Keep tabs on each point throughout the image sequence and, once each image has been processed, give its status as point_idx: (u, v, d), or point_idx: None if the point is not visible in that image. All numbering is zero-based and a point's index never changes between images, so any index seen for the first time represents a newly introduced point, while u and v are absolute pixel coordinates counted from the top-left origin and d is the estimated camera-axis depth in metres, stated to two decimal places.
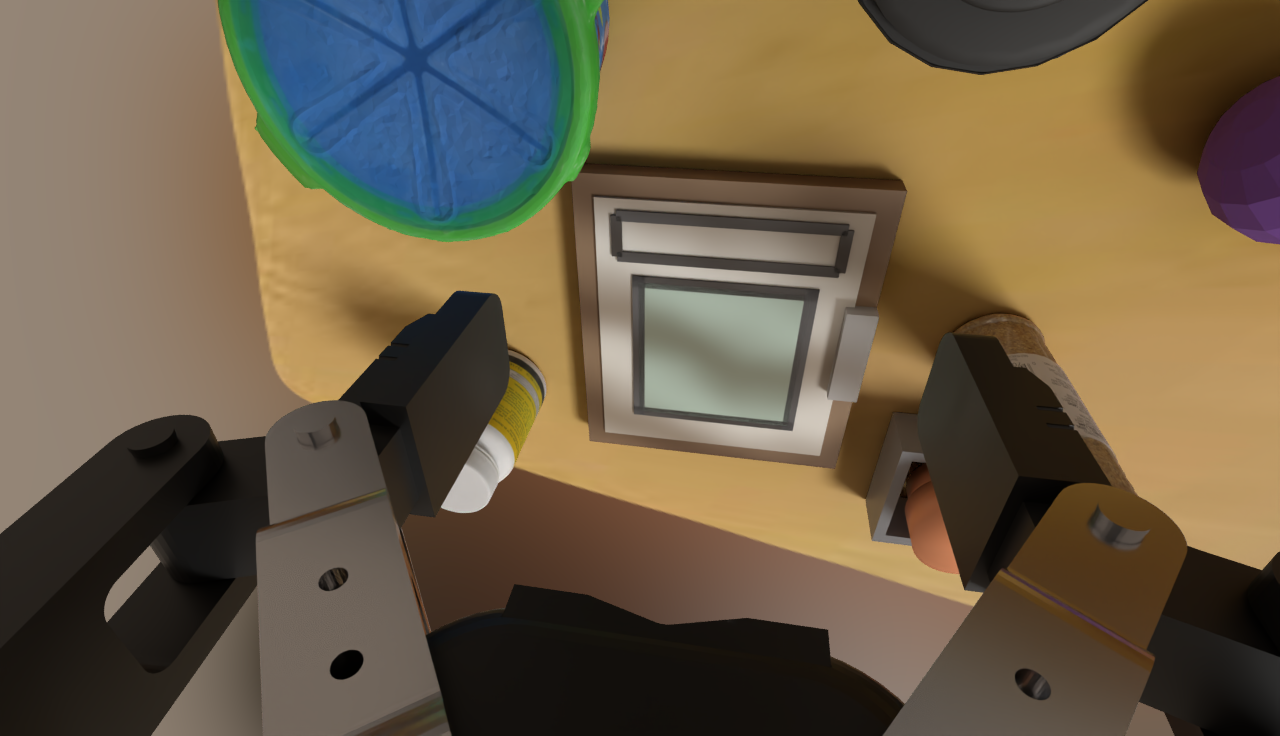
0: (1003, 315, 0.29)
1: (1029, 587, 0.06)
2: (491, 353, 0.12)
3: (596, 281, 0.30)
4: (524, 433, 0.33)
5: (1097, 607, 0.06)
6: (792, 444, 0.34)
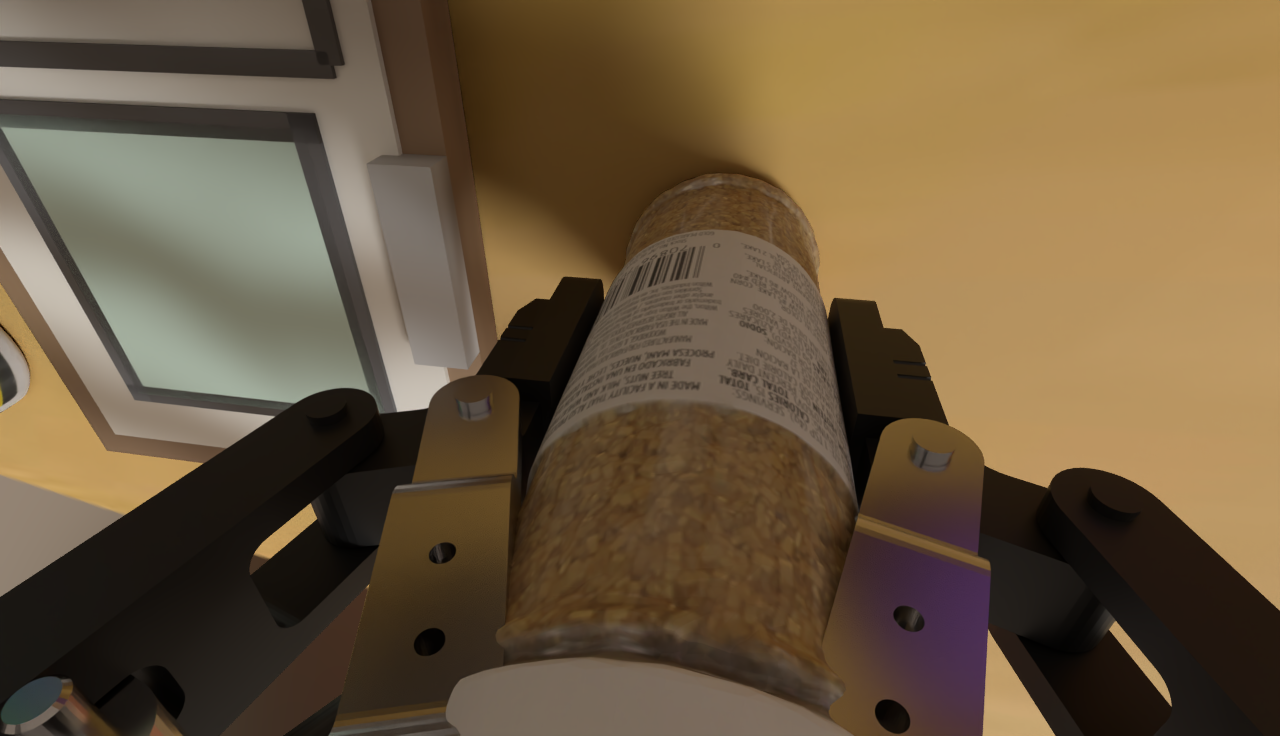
0: (718, 175, 0.14)
1: (883, 529, 0.06)
2: None
3: None
4: None
5: (933, 528, 0.07)
6: None
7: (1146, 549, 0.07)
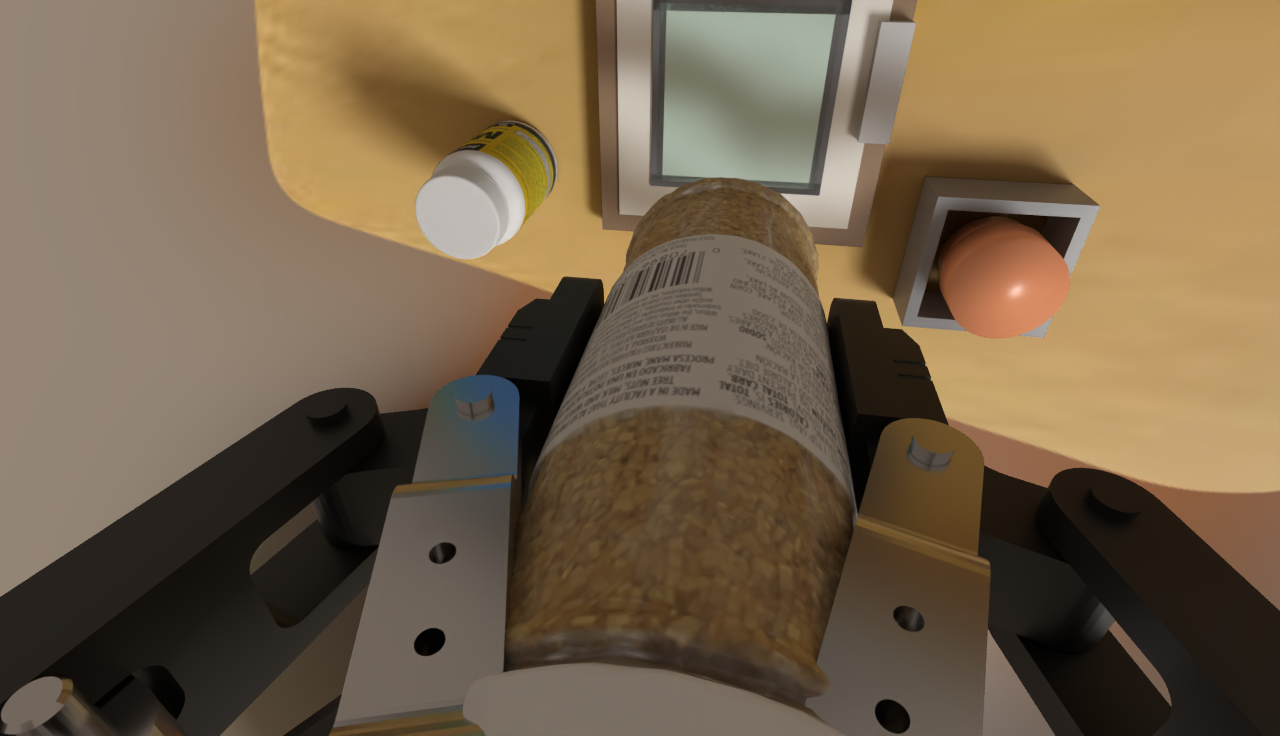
0: (717, 179, 0.14)
1: (883, 529, 0.06)
2: None
3: (615, 9, 0.29)
4: (535, 191, 0.31)
5: (933, 529, 0.07)
6: (818, 215, 0.33)
7: (1146, 549, 0.07)
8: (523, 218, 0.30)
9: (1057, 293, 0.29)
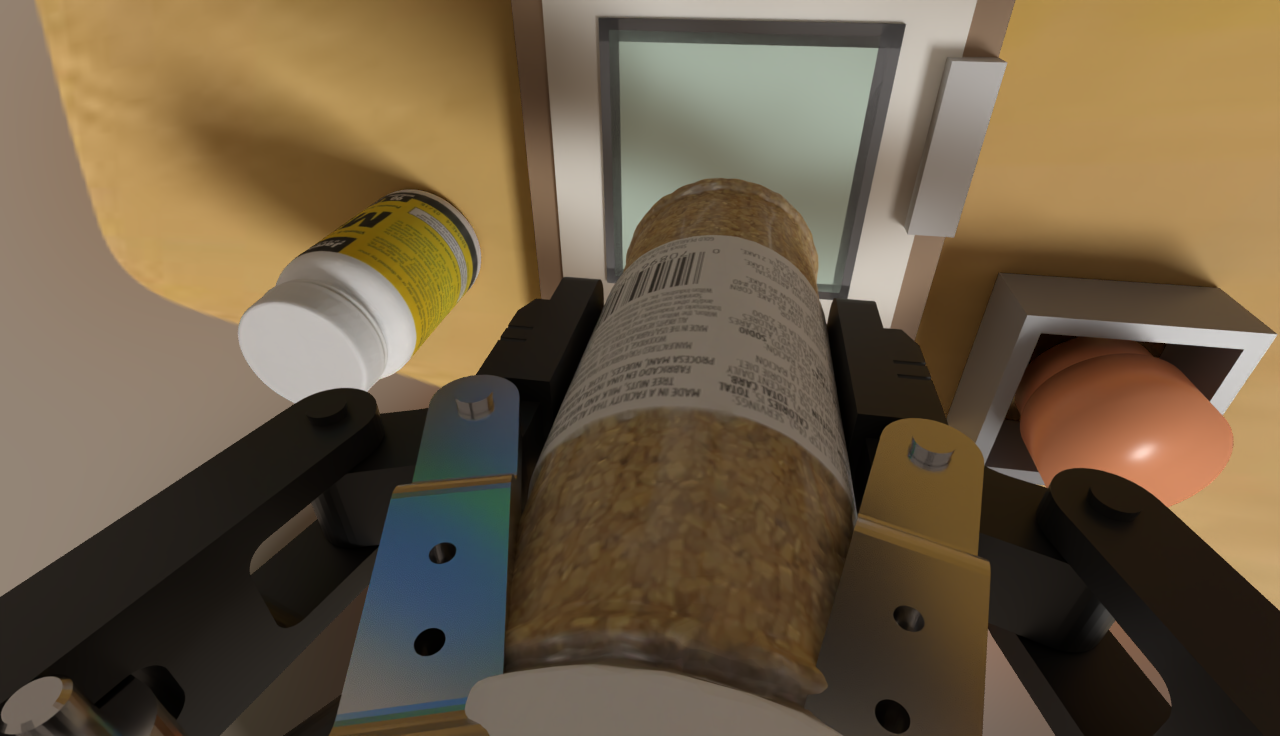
0: (717, 179, 0.14)
1: (883, 529, 0.06)
2: None
3: (543, 38, 0.19)
4: (436, 299, 0.22)
5: (933, 529, 0.07)
6: None
7: (1146, 549, 0.07)
8: (415, 344, 0.21)
9: (1210, 464, 0.19)
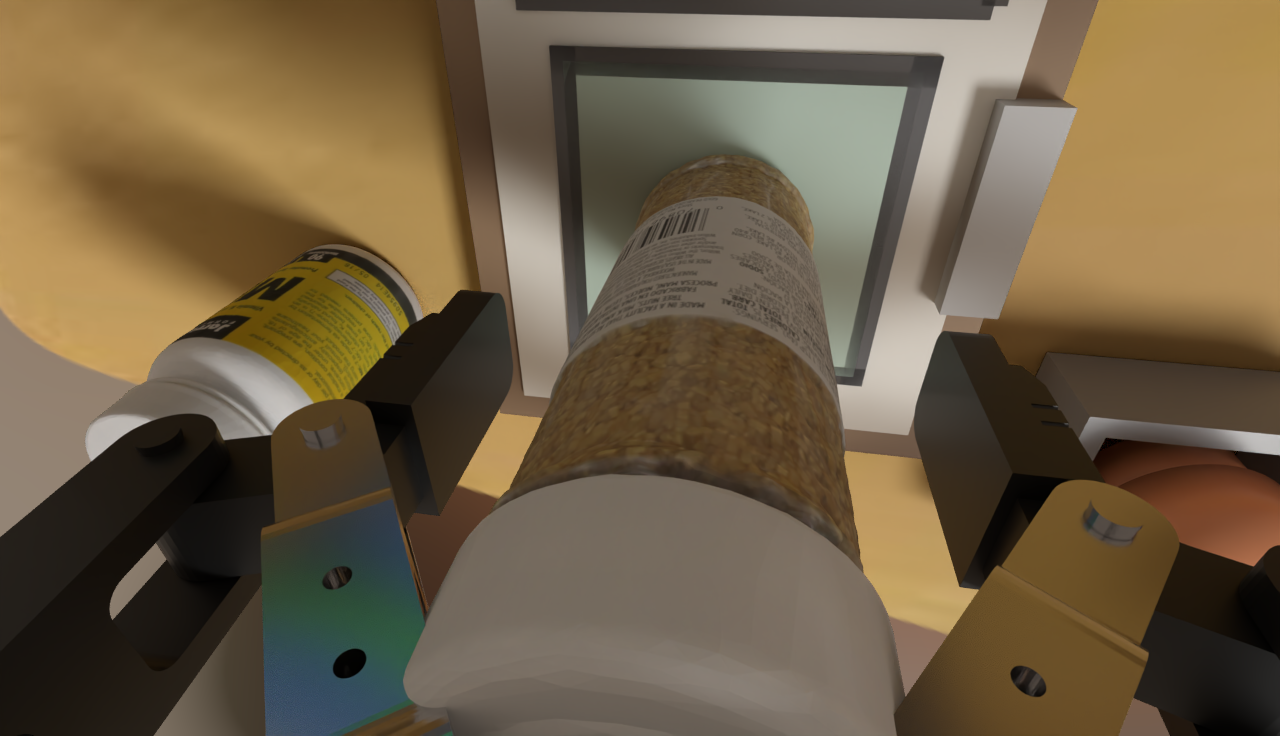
0: (721, 155, 0.15)
1: (1023, 584, 0.06)
2: (495, 352, 0.12)
3: (481, 69, 0.15)
4: None
5: (1091, 603, 0.06)
6: (858, 413, 0.19)
7: None
8: None
9: None
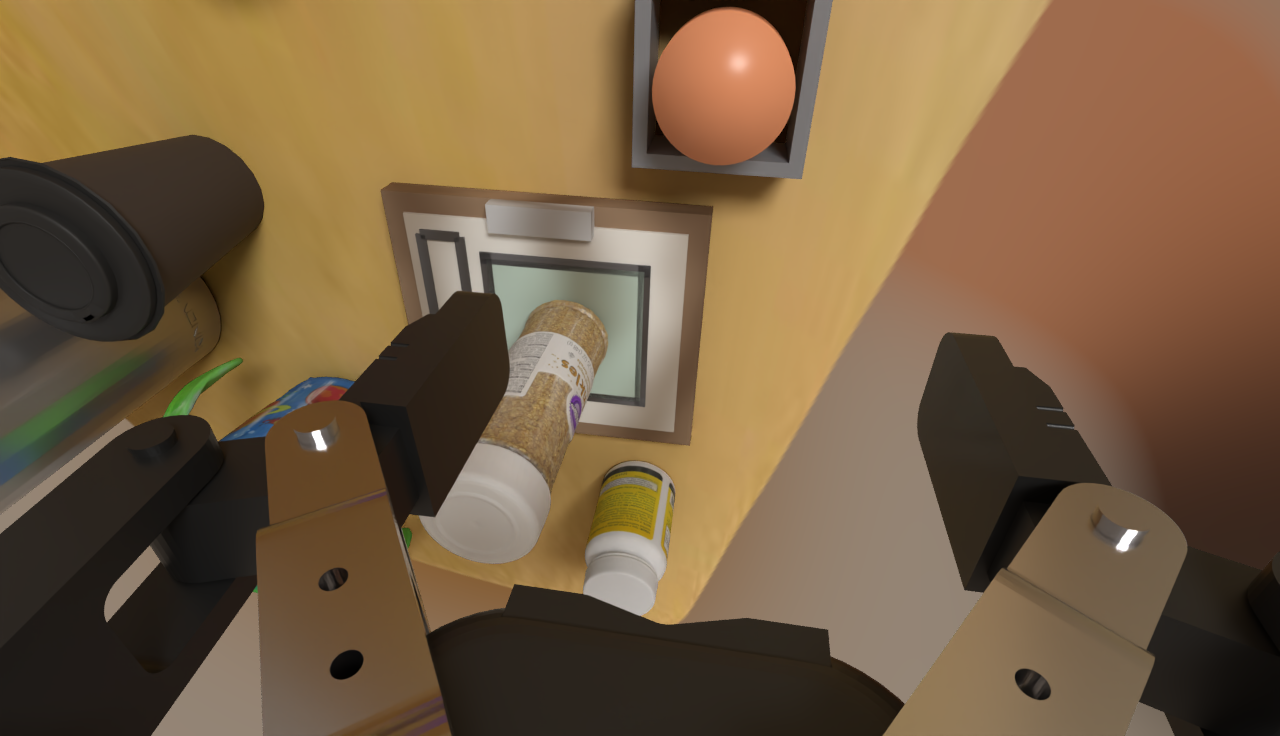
0: None
1: (1029, 587, 0.06)
2: (491, 353, 0.12)
3: None
4: (630, 509, 0.36)
5: (1097, 607, 0.06)
6: (673, 265, 0.30)
7: None
8: (639, 535, 0.35)
9: (725, 27, 0.21)
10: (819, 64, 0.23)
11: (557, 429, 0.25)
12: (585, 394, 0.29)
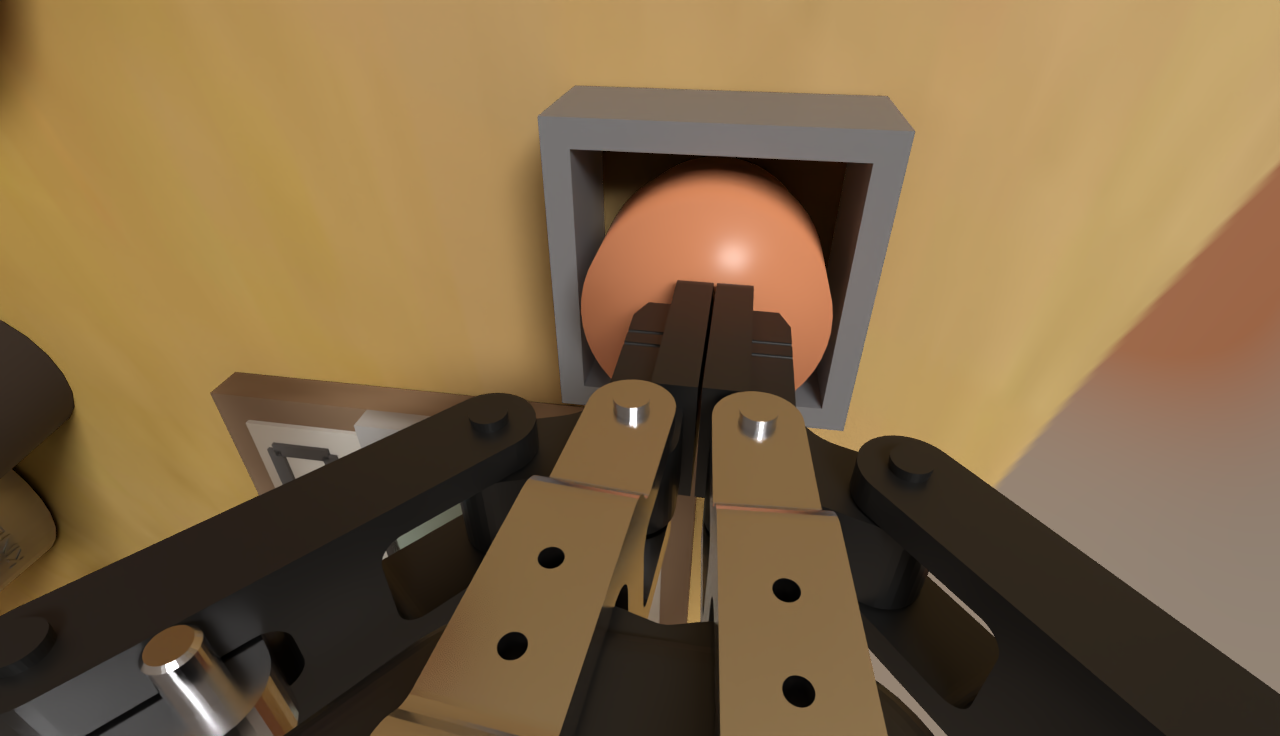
0: None
1: (741, 510, 0.06)
2: (708, 340, 0.12)
3: None
4: None
5: (779, 494, 0.07)
6: None
7: (946, 504, 0.07)
8: None
9: (702, 223, 0.11)
10: (878, 270, 0.13)
11: None
12: None
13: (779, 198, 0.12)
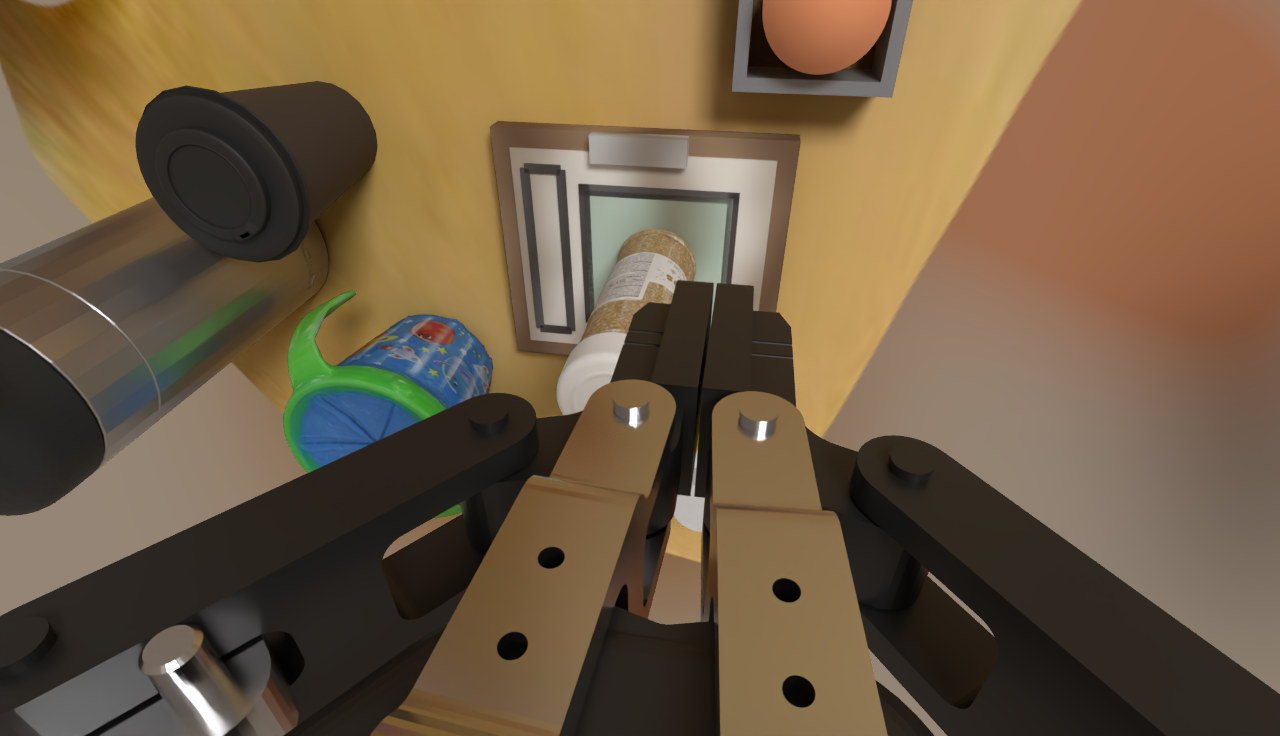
0: None
1: (742, 510, 0.06)
2: (708, 340, 0.12)
3: None
4: None
5: (780, 494, 0.07)
6: (761, 191, 0.33)
7: (946, 504, 0.07)
8: None
9: None
10: None
11: None
12: None
13: None
